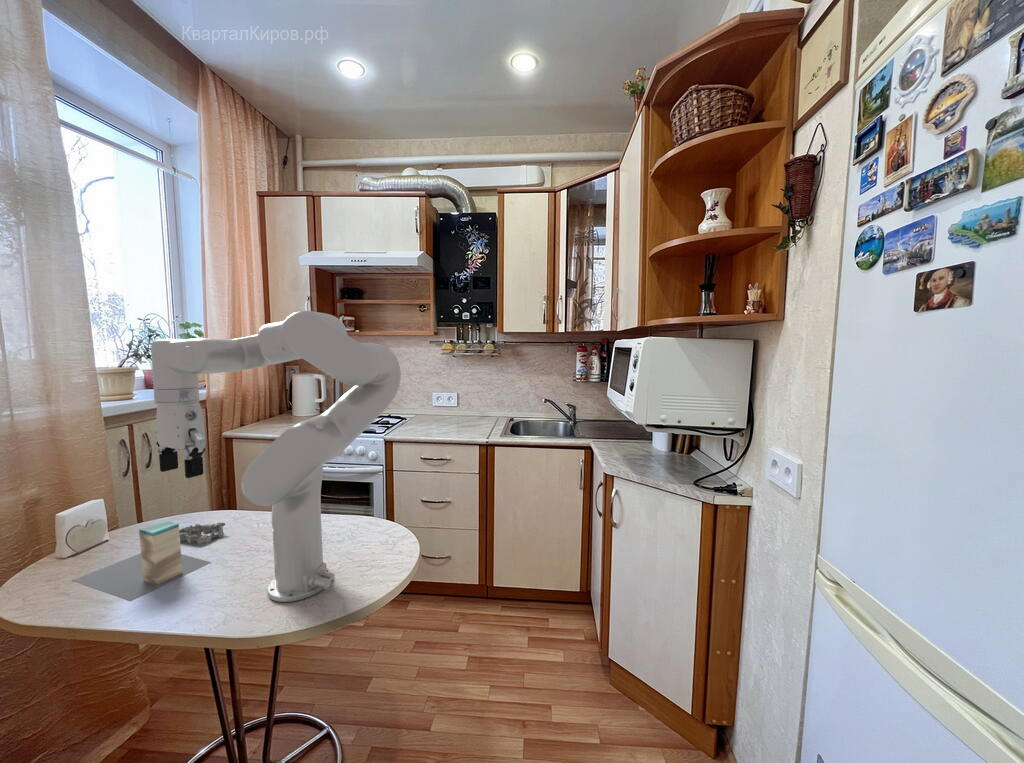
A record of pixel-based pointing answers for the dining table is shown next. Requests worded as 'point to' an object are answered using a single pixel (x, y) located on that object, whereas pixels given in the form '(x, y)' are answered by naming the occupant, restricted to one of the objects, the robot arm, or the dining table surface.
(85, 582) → the rubber mat
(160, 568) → the birch block
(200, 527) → the grey jagged stone ring
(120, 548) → the dining table surface
